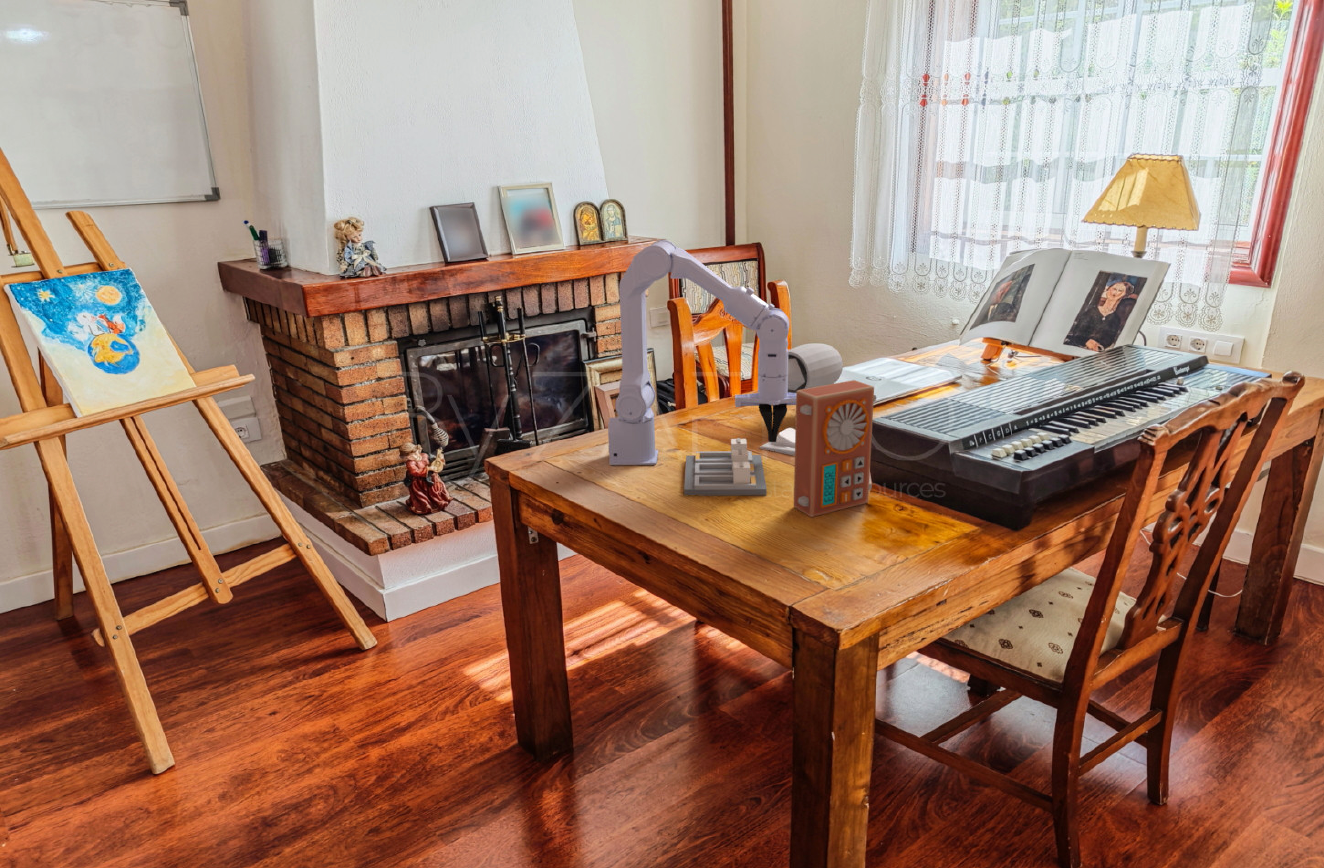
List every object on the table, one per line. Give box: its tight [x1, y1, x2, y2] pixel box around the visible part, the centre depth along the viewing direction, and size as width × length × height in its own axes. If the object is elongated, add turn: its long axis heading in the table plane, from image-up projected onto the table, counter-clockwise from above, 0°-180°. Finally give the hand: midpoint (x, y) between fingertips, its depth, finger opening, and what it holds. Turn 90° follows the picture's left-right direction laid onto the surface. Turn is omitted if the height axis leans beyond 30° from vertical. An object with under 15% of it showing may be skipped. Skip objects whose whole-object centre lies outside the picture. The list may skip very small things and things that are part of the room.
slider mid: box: [732, 449, 749, 471], centre depth 167 cm, size 3×3×4 cm
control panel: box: [793, 379, 877, 518], centre depth 151 cm, size 21×7×15 cm
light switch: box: [758, 427, 795, 457], centre depth 183 cm, size 11×4×13 cm
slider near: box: [733, 461, 750, 484], centre depth 161 cm, size 3×3×4 cm
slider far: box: [730, 437, 748, 459], centre depth 173 cm, size 3×3×4 cm
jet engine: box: [788, 342, 844, 393], centre depth 198 cm, size 15×20×18 cm
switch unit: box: [683, 450, 768, 496], centre depth 168 cm, size 15×18×2 cm
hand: (772, 440), depth 172 cm, fingers closed
